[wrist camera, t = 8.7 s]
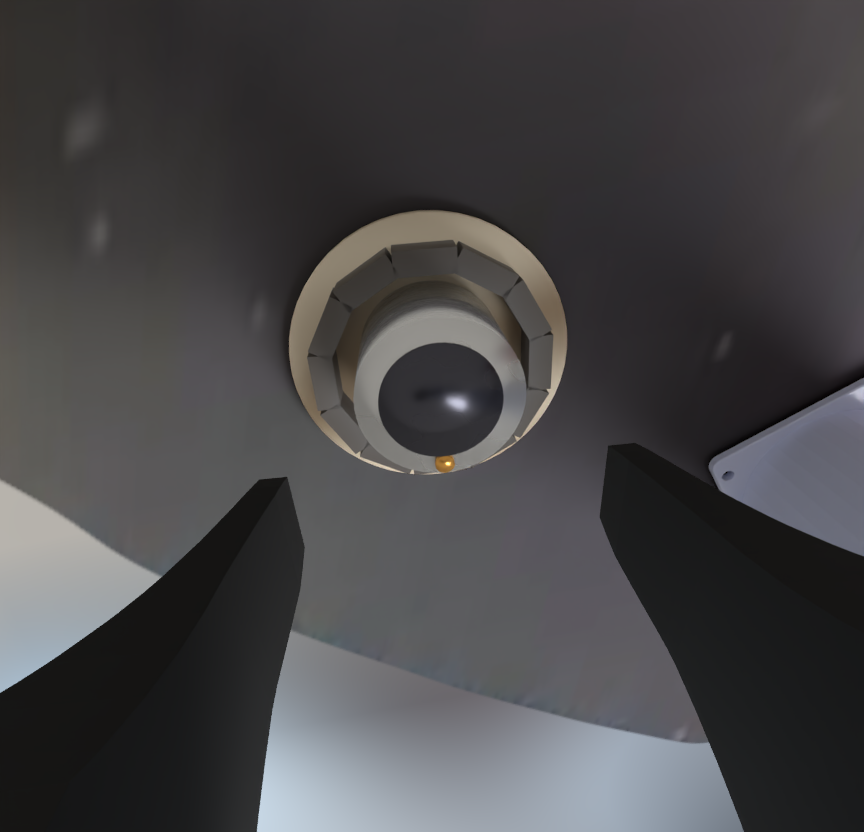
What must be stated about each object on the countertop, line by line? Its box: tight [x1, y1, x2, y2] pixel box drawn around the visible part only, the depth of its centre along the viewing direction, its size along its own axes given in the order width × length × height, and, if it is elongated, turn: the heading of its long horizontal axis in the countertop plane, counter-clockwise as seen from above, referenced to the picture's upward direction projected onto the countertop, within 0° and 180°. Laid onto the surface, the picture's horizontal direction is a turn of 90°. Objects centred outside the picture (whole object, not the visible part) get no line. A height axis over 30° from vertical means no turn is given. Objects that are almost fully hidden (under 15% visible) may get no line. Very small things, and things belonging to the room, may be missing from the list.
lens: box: [353, 281, 527, 473], centre depth 16 cm, size 5×5×4 cm
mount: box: [289, 210, 567, 475], centre depth 18 cm, size 10×10×2 cm
